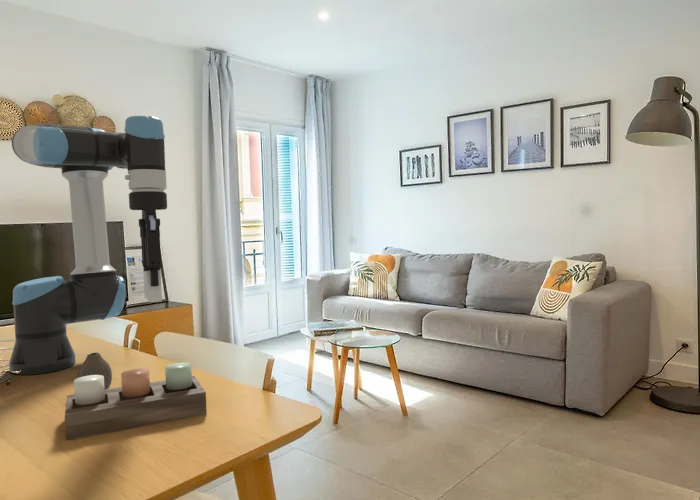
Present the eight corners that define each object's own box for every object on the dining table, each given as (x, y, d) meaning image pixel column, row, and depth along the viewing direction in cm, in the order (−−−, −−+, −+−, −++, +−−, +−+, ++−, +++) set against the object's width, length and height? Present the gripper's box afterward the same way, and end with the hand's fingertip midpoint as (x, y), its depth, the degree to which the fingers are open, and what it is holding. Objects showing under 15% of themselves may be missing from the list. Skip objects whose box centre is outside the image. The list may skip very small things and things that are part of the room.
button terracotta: (121, 391, 102) (120, 371, 102) (148, 386, 105) (147, 367, 104) (123, 398, 98) (121, 377, 98) (151, 394, 100) (150, 373, 100)
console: (68, 417, 102) (66, 395, 101) (195, 396, 112) (194, 375, 112) (66, 440, 91) (64, 415, 91) (206, 414, 102) (205, 391, 101)
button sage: (164, 384, 106) (163, 364, 106) (189, 380, 108) (189, 361, 108) (167, 391, 102) (166, 371, 101) (194, 387, 104) (193, 367, 104)
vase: (99, 398, 112) (96, 358, 112) (71, 397, 114) (68, 357, 113) (119, 388, 119) (117, 350, 118) (92, 387, 120) (90, 349, 120)
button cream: (75, 398, 99) (74, 377, 99) (104, 393, 101) (103, 373, 101) (74, 406, 94) (73, 384, 94) (105, 401, 97) (104, 380, 96)
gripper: (125, 193, 118) (130, 295, 119) (132, 188, 101) (138, 307, 102) (160, 193, 121) (165, 292, 123) (172, 188, 104) (178, 303, 106)
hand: (153, 299), depth 112 cm, fingers open, 6 cm apart
